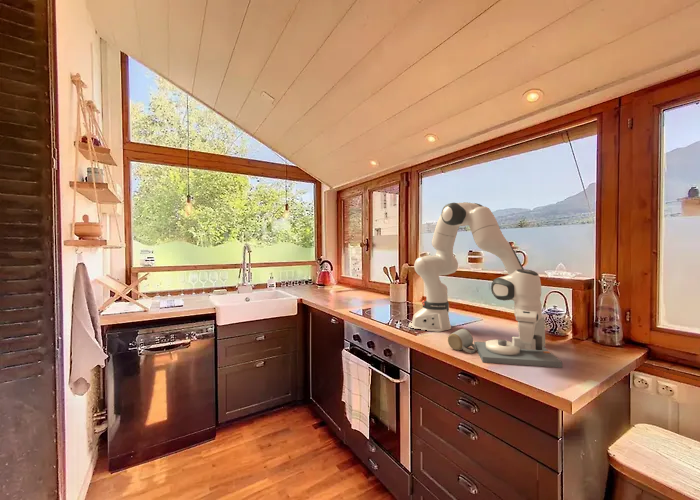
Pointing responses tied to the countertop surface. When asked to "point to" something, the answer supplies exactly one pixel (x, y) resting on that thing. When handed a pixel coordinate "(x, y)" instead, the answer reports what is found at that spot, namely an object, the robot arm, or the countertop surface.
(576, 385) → the countertop surface
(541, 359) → the stand
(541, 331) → the supplement box
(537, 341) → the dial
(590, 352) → the countertop surface
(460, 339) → the ceramic mug
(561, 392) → the countertop surface
